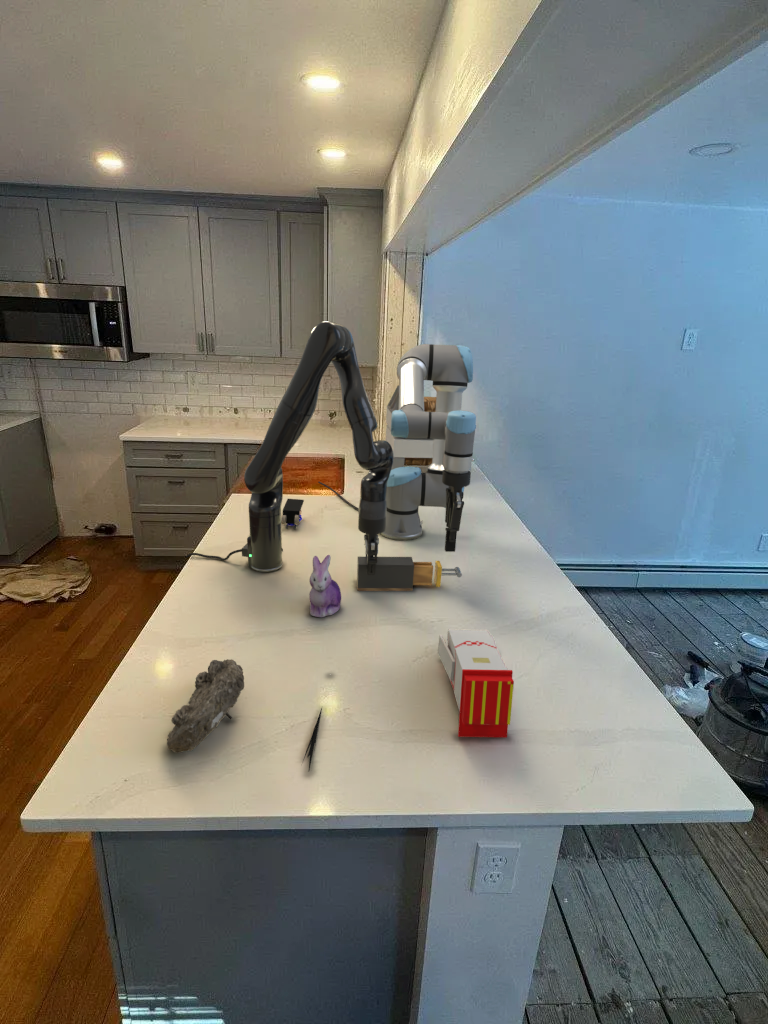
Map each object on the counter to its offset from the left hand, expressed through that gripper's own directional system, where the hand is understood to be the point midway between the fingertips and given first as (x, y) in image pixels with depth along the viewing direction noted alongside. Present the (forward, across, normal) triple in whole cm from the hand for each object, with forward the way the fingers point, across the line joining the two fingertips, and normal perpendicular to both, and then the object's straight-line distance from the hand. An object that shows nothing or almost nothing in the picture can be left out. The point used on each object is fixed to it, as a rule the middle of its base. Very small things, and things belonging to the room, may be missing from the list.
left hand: (370, 567), depth 160 cm
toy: (+6, -48, -18) cm, 51 cm away
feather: (+6, -55, +12) cm, 57 cm away
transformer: (+6, +118, -31) cm, 122 cm away
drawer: (+5, 0, -16) cm, 16 cm away
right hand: (-6, 0, -22) cm, 23 cm away
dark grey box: (+6, 0, -4) cm, 7 cm away
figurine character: (+6, +48, +25) cm, 54 cm away
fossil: (+6, -54, +33) cm, 64 cm away
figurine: (+6, -13, +12) cm, 19 cm away
